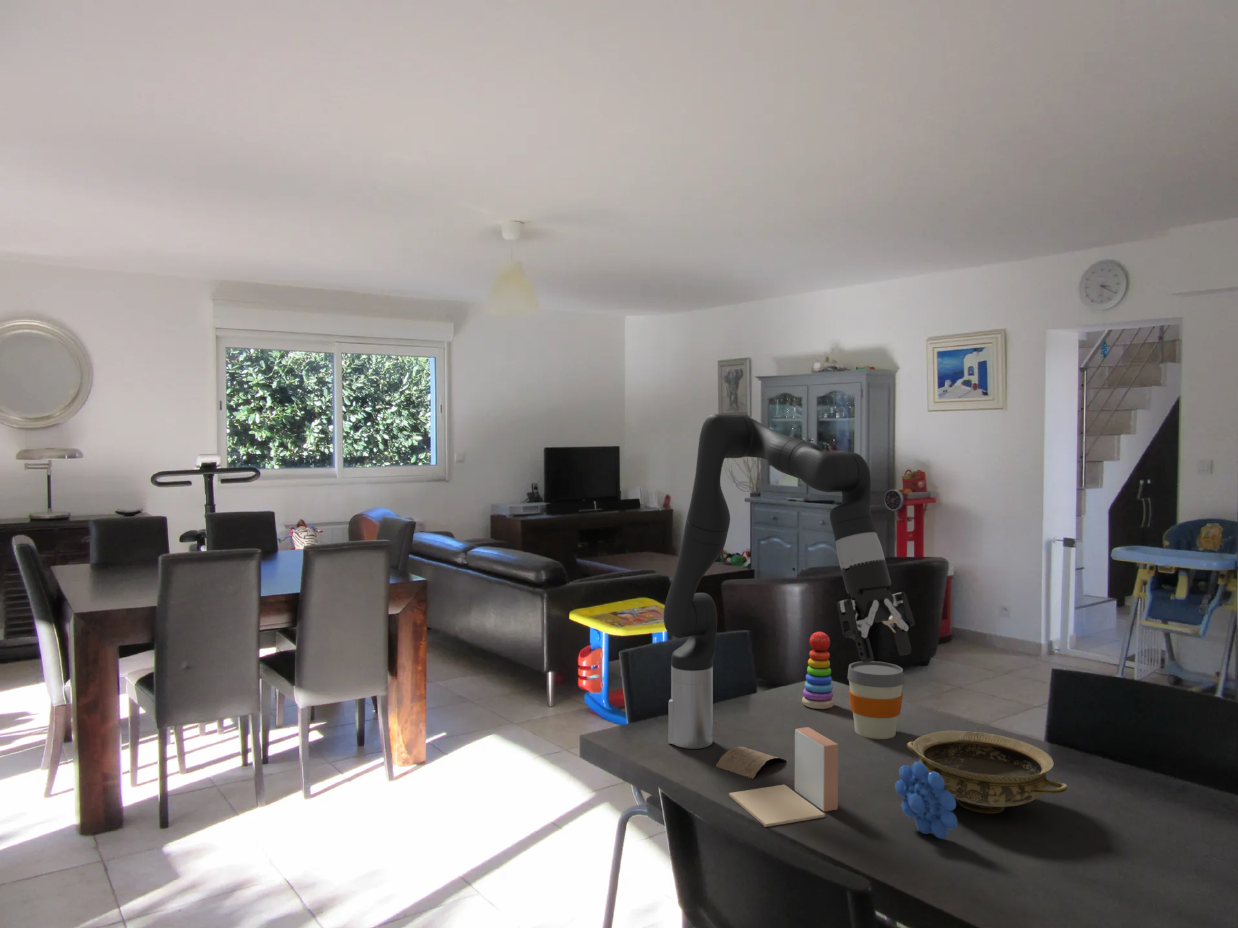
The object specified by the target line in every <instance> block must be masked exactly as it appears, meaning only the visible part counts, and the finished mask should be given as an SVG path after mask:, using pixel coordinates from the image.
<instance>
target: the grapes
mask: <svg viewBox="0 0 1238 928" xmlns="http://www.w3.org/2000/svg"><path fill="white" fill-rule="evenodd" d="M898 774H899V777H900V779H898V780H897V781H896V782H895V784H894V788H895V792H896V794H897V795H898V796H899V797H900V798H902V799H903V801H901V805H900V807H901V811H902V812H903V814H904V815H905V816H906V817H907V818H909V819H914V824H915V826H916V829H917V830H918V831H919V832H920V833H921V834H924V835H929V834H931V833H932V834H933V836H935V838H938V839H941V840H942V839H945V838H946V837H948V836H949V835H948V833H949V830H954V829H956V828H957V826H958V818H957V816H956V814H955V813H954V812H953V811H954V810H955V809H956V807H957V799H956V798H954V796H953V795H952V794H951V793H950V792H949V791H946V790H943V789H944V786H945V783H944V780H943V778H942V776H941V775H940V774H939V773H937V772H935V771H934V772H930V773H929V772H928V769H927V767H926V766H925V765H924V764H923V763H921V762H919V761H914V762H913V764H912V765H911V766H909V765H908V764H903V765H901V767H899V770H898ZM942 790H943V791H942Z"/></svg>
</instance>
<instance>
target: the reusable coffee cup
mask: <svg viewBox="0 0 1238 928" xmlns="http://www.w3.org/2000/svg"><path fill="white" fill-rule="evenodd" d="M847 680H848V682H849V683H848V684H849V688H848V698H849V699H848V700H849V706H850V711H851V712H852V714H853V715H852V716H853V724H854V731H855V733H856V734H857V735H859V736H861V737H863V738H868V739H873V740H886V739H891V738H894V737H895V736H896V732H897V726H898V725H897V724H898V719H899V716H900V715H901V709H902V703H903V702H902V701H903V697H904V694H903V693H902V692H903V691H902V689H903V685H904V683H905V678H904V669H903V667H901V666H899V665H897V664H893V663H889V662H884V661H875V660H874V661H871V662H866V663H863V662H862V661H856V662H852V663H850V664H849V665H848V671H847Z"/></svg>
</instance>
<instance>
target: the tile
mask: <svg viewBox="0 0 1238 928" xmlns="http://www.w3.org/2000/svg"><path fill="white" fill-rule="evenodd" d="M838 781H839V745H838V743H837V742H834V741H833V740H831V739H829V738H828V737H826V736H824V735H822V734H821V733H819V732H818V731H816V730H814V729H813V728H811V727H809V726H807V727H806V726H805V727H800V728H795V729H794V792H795V793H797V794H798V795H800V796H801V797H802V798H804V799H805V800H806V801H808V802H809V803H811V804H812V805H813V806H815V807H816V808H817V809H818V808H819V810H820V811H821V810H822V812H823V813H824V812H825V813H826V812H830V811H831V812H832V811H837V810H838V807H839V806H838V803H839V801H838V799H839V797H838V794H839V793H838V790H839V785H838V784H839V782H838Z"/></svg>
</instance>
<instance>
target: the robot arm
mask: <svg viewBox="0 0 1238 928" xmlns="http://www.w3.org/2000/svg"><path fill="white" fill-rule="evenodd" d="M696 456H697V459H696V466H695V474H694V481H693V486H692V487H693V488H692V493H691V498H690V503H689V507H688V511H687V516H686V519H685V520H686V521H685V525H684V530H683V535H682V541H681V545H680V550H679V555H678V560H677V564H676V568H675V571H674V575H673V577H672V581H671V582H670V583H671V584H670V585H669V590H668V593H667V596H666V599H665V602H664V607H663V625H664V628H665V630H666V632H667V633H668V635H670V636H671V637H674V638H687V637H688V638H687V640H686V641H685V642H684V643H683V644H682V645H681V646H680V647H678V648H676V649H675V650H674V651H673V652H672V653H671V658H670V660H671V662H670V663H671V667H670V670H671V671H670V672H671V673H670V674H671V675H670V678H671V680H670V683H671V684H670V685H671V686H670V687H671V688H670V690H671V691H670V693H671V694H670V695H671V697H670V699H669V700H668V711H667V712H668V715H667V717H668V718H667V719H668V726H667V727H668V729H667V731H668V733H667V734H668V742H667V743H668V744H672V745H675V746H676V747H679V748H684V749H691V750H692V749H693V750H695V749H696V750H697V749H703V748H707V747H710V746H711V745H712V744H713V737H714V736H713V735H714V733H713V728H714V727H713V724H714V723H713V722H714V721H713V717H714V716H713V714H714V712H713V711H714V710H713V709H714V707H713V697H714V695H713V694H714V693H713V692H714V691H713V687H714V686H713V682H714V681H713V671H714V668H713V667H714V666H713V665H714V664H713V662H714V661H713V660H714V658H715V655H716V650H717V649H716V647H717V632H718V631H717V630H718V628H717V627H718V612H717V611H718V610H717V606H716V603H715V601H714V599H713V598H712V596H711V595H710V594H708V593H706V592H696V591H697V588H698V586H699V584H700V581H701V580H702V578H703V577H704V576H705V575H706V573H707V572H708V571H709V569H710V568H711V567H712V565H714V563H715V562H716V560H717V559H718V558H719V556H720V555H721V554H722V552H723V550H724V548H725V547H726V546H725V545H726V541H727V537H728V533H729V529H730V524H731V514H730V509H729V506H728V504H727V501H726V497H725V495H724V492H723V489H722V486H721V475H722V469H723V465H724V461H725V459H742V458H759V459H762V460H766V461H767V462H768V463H769V465H770V466H771V467H772V468H774V469H775V470H777V471H778V472H780V473H783V474H786V475H788V476H791V477H793V478H797V479H799V480H801V481H802V482H804V483H805V484H806V485H808V486H809V487H810V488H812V489H814V490H817V491H820V492H825V493H841V494H842V497H841V504H838V505H836V506H834V507H833V508H832V509H831V510H830V512H829V520H830V525H831V528H832V533H833V536H834V537H833V538H834V541H835V545H836V555H837V559H838V563H839V567H840V571H841V574H842V578H843V583H844V586H845V591H846V593H847V594H848V595H850V598H847V599H843V600H840V601H838V602H837V603H836V607H837V613H838V616H839V623H840V628H841V632H842V635H843V637H844V638H847V639H848V638H850V639H852V640H853V641H854V642H855V645H856V649H857V654H858V656H859V659H860V660H861V662H863V663H866V662H871V661H875V656H874V653H873V648H872V646H871V645H872V644H871V642H870V638H869V637H868V635H869V630H870V628H871V627H872V626H873V624H874V623H881V622H882V624H884V625H885V626H888V627H889V629H891V631H892V632H893V633H894V634H893V637H894V641H895V645H896V648H897V652H898V655H899V656H900V657H902V656H907V655H910V654H912V645H911V641H910V637H909V632H908V631H909V629H910V628H911V627H914V626H915V625H916V622H915V619H914V615H913V612H912V609H911V607H910V603H909V599H908V597H907V594H906V592H905V591H901V592H897V593H891V591H890V586H891V585H892V580H891V577H890V573H889V570H888V566H887V563H886V562H887V561H886V558H885V554H884V550H883V547H882V544H881V541H880V538H879V537H878V533H877V530H876V526H875V521H874V520H873V516H872V515H873V514H872V511H871V503H872V501H871V499H872V497H871V494H872V493H871V491H872V490H871V489H872V488H871V471H870V468H869V465H868V463H867V461H866V460H865V458H863V456H862V455H861V454H858V452H854V451H853V452H852V451H842V452H841V451H835V452H833V451H832V452H831V451H824V450H823V448H821V446H819V445H818V444H815V443H813V442H810V441H806V440H803V439H800V438H797V437H793V436H789V435H787V434H784V433H780V432H778V431H776V430H773V429H771V428H769V427H768V426H765V425H764V424H762V423H760V421H757V420H755V419H754V418H752V417H750V416H747V415H745V414H742V413H741V414H740V413H713V414H710V415H708V416H707V418H705V420H704V422H703V424H702V427H701V429H700V434H699V439H698V448H697V455H696Z"/></svg>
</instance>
